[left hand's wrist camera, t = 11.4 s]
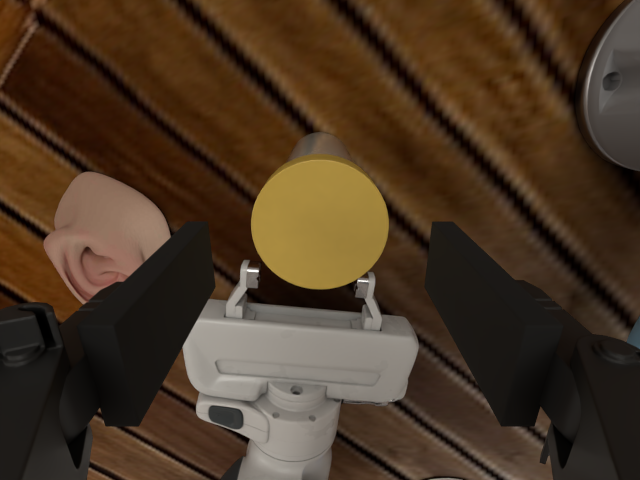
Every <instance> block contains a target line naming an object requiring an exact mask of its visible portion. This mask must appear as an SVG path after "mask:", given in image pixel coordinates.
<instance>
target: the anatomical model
mask: <svg viewBox="0 0 640 480" xmlns="http://www.w3.org/2000/svg"><path fill="white" fill-rule="evenodd" d="M54 223H55V228H56V230H55V231H54V232H52V233H51V234H49V235H48V236H47V237H46V239H45V241H44V248H45V251H46V253H47V255H48V256H49V258H50V259H51V261H52V263H53V264H54V266H55V267H56V269H57V271H58V272H59V274H60V275H61V277H62V279H63V280H64V282H65V283H66V285H67V286H68V288H69V289H70V290H71V292H72V293H73V294H74V295H75V297H76V298H77V299H78V300H79V301H80V302H81V303H83V304H85V303H86V302H89V301H88V300H90V299H91V298H92V297H93V296H94V295H95V294H96V293H97V292H99V291H100V290H101V289H103V288H105V287H107V286H109V285H111V284H113V283H115V282H124V281H125V280H126V279H127V278H128V277H129V276H130V275H131V274H132V273H133V272H134V271H135V270H136V269H137V268H139V267H140V266H141V265H142V264H143V263H144V262H145V261H146V260H147V259H148V258H149V257H150V256H151V255H152V254H153V253H154V252H156V251H157V250H158V249H159V248H160V247H161V246H162V245H163V244H164V243H165V242H166V241H167V240H168V239H169V238H170V237H171V236H170V231H169V227H168V224H167V222H166V219H165V217H164V215H163V214H162V212H161V211H160V210H159V209H158V207H157V206H156V205H155V204H154V203H153V202H151V201H150V200H149V199H148V198H147V197H145V196H144V195H143V194H141V193H140V192H138V191H136V190H135V189H133V188H131V187H129V186H127V185H126V184H124V183H122V182H120V181H117V180H115V179H113V178H111V177H108V176H106V175H103V174H99V173H96V172H84V173H81V174H80V175H78V176H77V177H76V178H75V179H74V180H73V181H72V183H71V184H70V185H69V187H68V189H67V190H66V192H65V194H64V195H63V197H62V199H61V201H60V203H59V206H58V209H57V212H56V215H55V221H54Z"/></svg>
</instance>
